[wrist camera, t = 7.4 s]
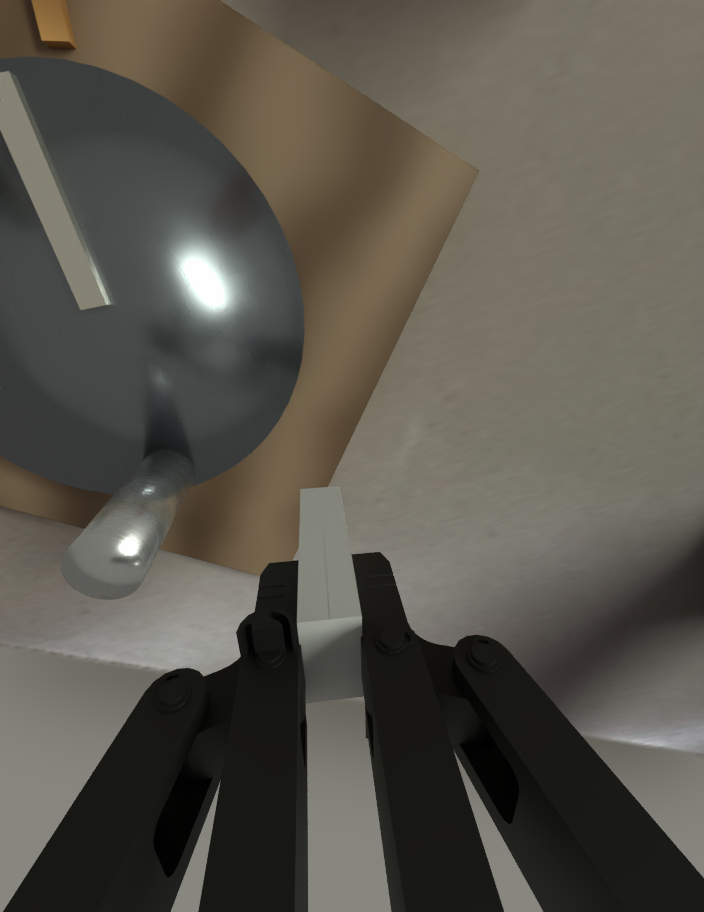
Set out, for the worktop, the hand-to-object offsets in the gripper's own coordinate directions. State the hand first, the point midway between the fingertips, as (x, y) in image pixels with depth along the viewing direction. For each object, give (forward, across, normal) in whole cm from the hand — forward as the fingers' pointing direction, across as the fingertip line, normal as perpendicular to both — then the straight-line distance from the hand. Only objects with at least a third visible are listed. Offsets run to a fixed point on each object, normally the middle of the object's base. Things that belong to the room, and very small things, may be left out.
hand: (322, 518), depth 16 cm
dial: (+6, +8, -7) cm, 13 cm away
